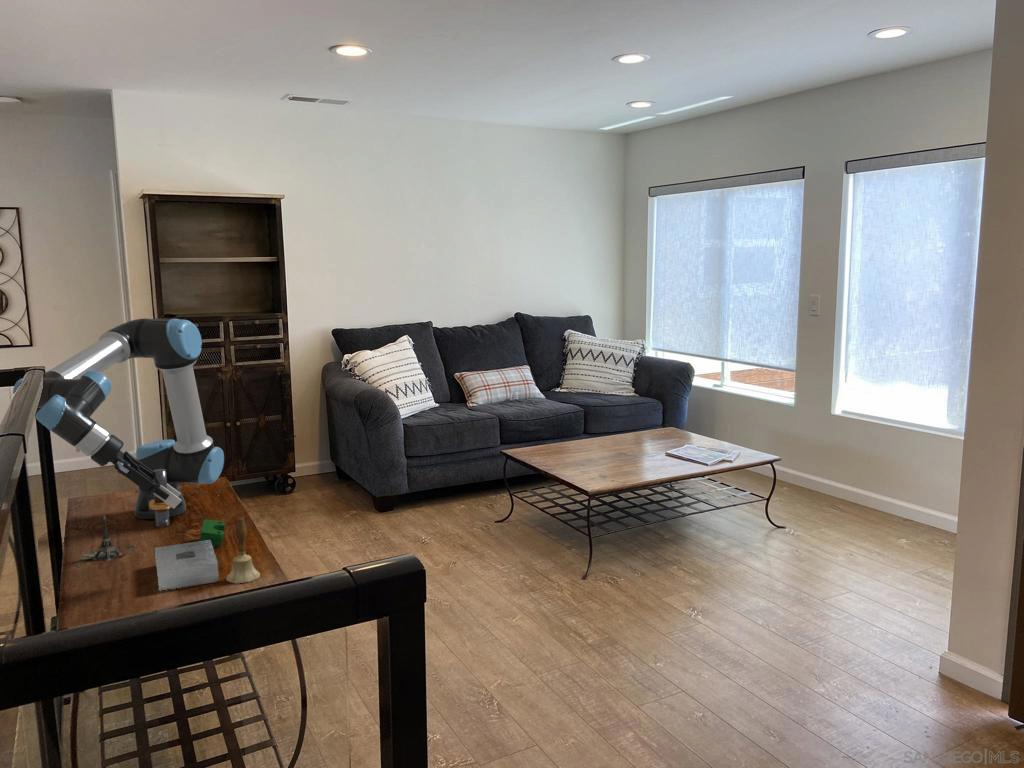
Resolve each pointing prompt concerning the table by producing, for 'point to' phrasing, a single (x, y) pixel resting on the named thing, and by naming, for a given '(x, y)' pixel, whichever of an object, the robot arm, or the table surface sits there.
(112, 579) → the table surface
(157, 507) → the pin
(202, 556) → the hole block
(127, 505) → the table surface
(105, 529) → the eiffel tower figurine
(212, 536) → the clamp
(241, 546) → the hand bell
